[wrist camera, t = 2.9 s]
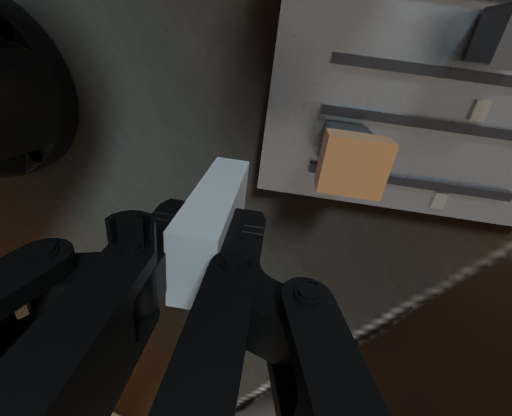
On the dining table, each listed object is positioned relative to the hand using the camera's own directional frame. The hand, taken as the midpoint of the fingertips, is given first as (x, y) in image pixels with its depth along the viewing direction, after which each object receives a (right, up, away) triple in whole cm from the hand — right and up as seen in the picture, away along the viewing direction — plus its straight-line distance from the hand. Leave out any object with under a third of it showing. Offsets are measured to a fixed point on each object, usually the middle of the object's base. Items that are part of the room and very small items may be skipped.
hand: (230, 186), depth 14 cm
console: (+14, +8, +9) cm, 19 cm away
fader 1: (+8, +4, +9) cm, 13 cm away
